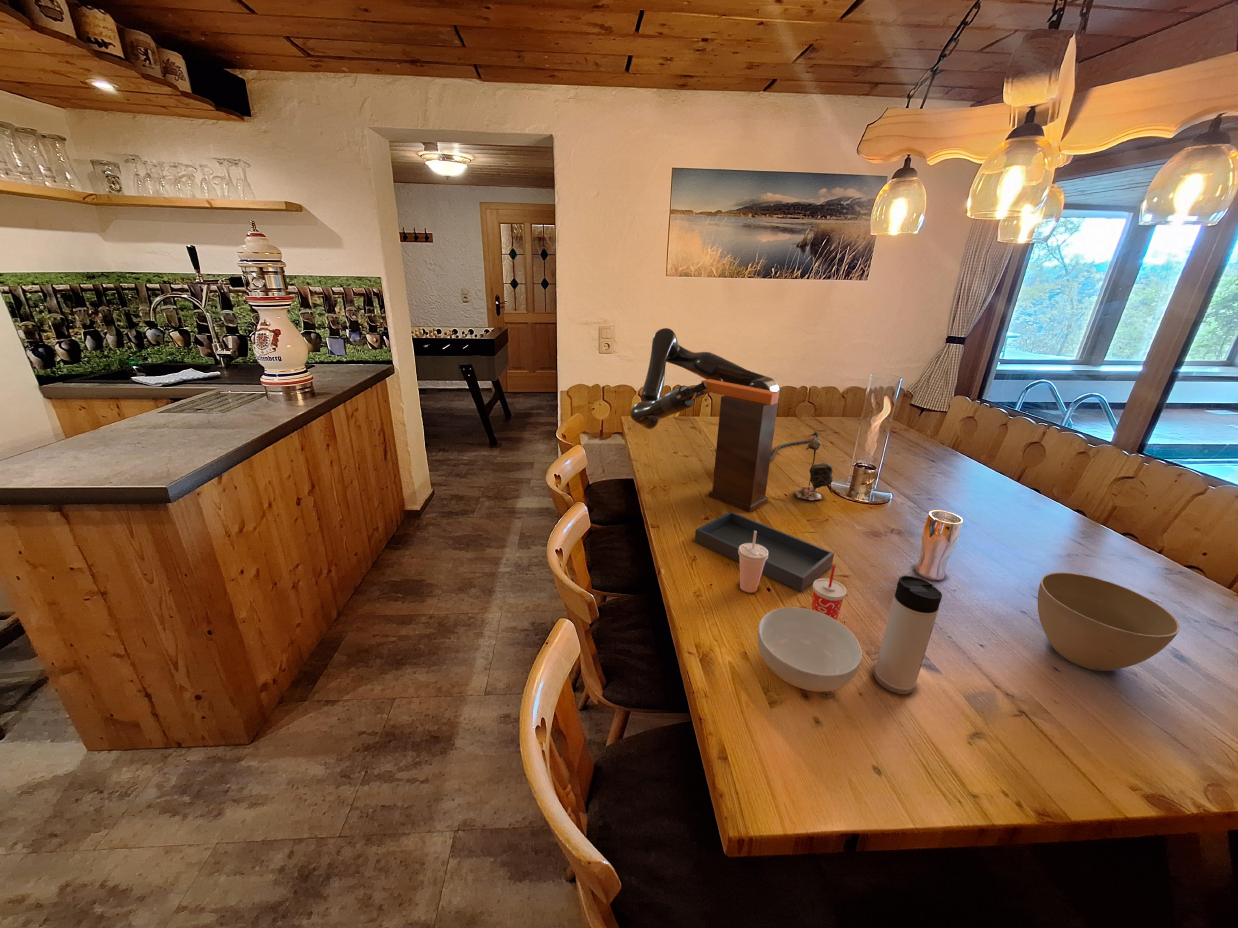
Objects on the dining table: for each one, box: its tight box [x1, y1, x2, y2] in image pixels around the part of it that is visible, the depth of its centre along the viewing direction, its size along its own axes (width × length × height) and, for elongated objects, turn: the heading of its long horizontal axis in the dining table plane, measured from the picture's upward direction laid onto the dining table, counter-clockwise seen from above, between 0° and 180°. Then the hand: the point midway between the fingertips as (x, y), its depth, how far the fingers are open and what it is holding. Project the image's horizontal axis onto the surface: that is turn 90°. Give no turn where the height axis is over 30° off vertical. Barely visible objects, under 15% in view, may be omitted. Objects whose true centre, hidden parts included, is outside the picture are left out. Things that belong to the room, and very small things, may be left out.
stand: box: [708, 395, 779, 513], centre depth 147 cm, size 10×15×32 cm, turn 44°
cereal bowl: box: [756, 606, 863, 693], centre depth 86 cm, size 17×17×7 cm
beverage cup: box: [810, 564, 848, 621], centre depth 95 cm, size 6×6×14 cm
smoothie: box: [738, 531, 768, 593], centre depth 107 cm, size 6×6×14 cm
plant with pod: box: [794, 437, 834, 501], centre depth 151 cm, size 8×11×20 cm
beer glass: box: [914, 509, 964, 581], centre depth 113 cm, size 7×7×15 cm
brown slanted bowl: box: [1037, 572, 1181, 672], centre depth 89 cm, size 18×18×12 cm
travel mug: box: [873, 575, 943, 695], centre depth 81 cm, size 6×7×20 cm
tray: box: [694, 510, 835, 593], centre depth 122 cm, size 16×30×4 cm, turn 44°
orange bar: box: [700, 379, 780, 405], centre depth 143 cm, size 4×24×3 cm, turn 44°
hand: (714, 383), depth 149 cm, fingers open, 8 cm apart
